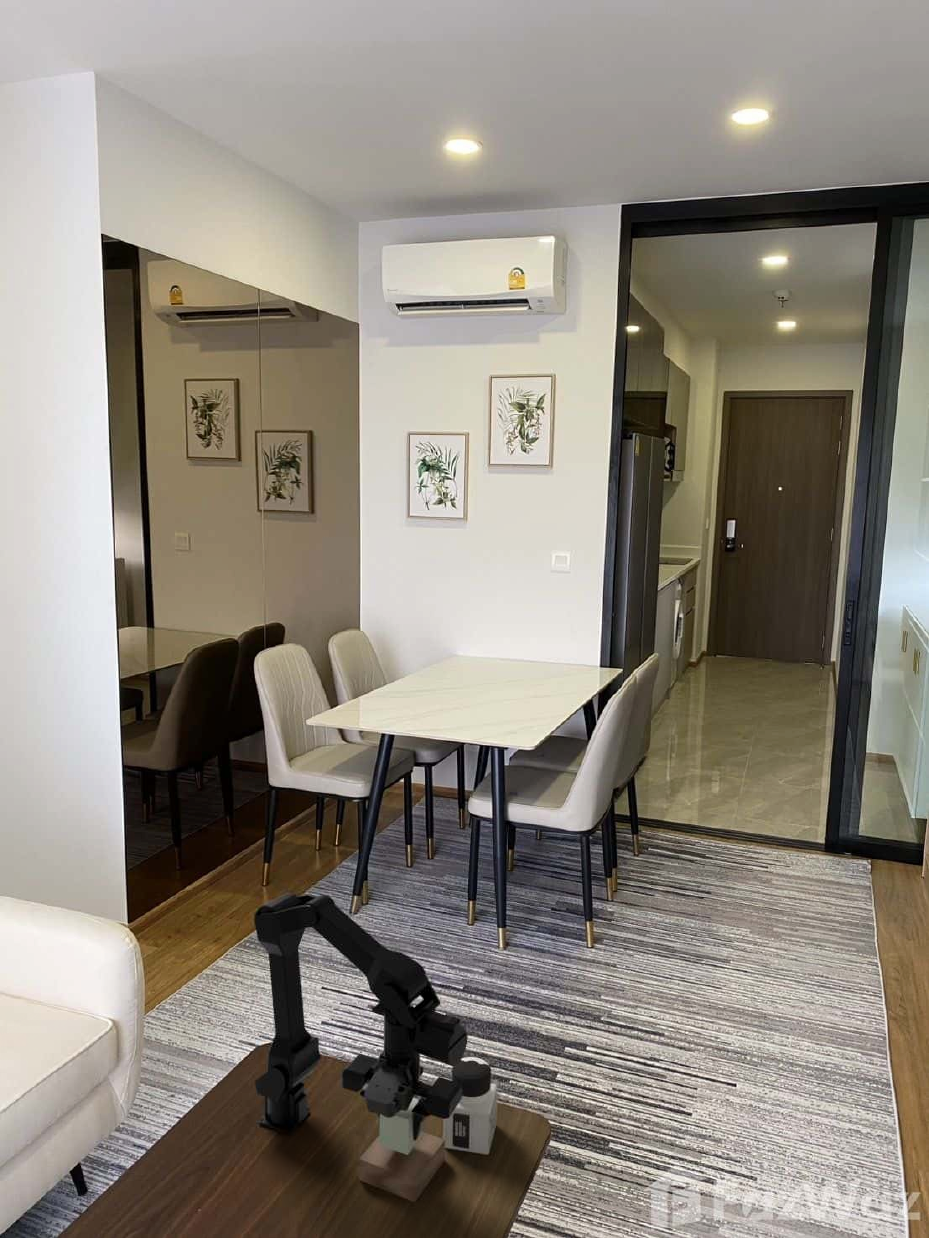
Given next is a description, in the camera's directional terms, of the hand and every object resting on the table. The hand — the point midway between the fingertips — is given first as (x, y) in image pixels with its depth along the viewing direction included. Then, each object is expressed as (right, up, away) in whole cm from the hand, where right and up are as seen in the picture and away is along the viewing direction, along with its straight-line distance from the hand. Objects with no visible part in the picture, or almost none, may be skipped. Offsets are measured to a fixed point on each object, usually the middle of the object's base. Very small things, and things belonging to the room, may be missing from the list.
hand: (400, 1133), depth 147 cm
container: (+11, -6, +9) cm, 15 cm away
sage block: (0, -1, 0) cm, 1 cm away
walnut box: (0, -7, +1) cm, 7 cm away
